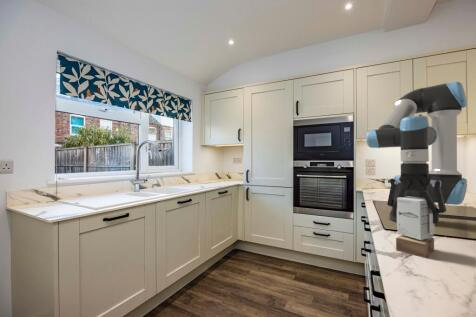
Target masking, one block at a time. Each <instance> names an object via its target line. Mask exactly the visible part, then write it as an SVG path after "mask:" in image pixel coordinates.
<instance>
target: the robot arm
mask: <svg viewBox="0 0 476 317" xmlns="http://www.w3.org/2000/svg"><path fill="white" fill-rule="evenodd" d="M466 107H467V96H466V93H465V89H464V86H463V84H462V83H461V82H460V81H454V82H446V83H440V84H435V85H432V86H427V87H420V88H416V89H414V90H412V91H410V92H408V93H405V94H404V95H403V96H401V97H400V98H399V99H398V100H397V101H396V102H395V103H394V105H393V107H392V110H391V112H390V113H389V114H388V116H387V117H386V118H385V120H384V121H383V122H382V123H381V125H380V126H379V127H378V129H372V130H369V131H368V132H366V136H365V137H366V138H365V140H366V141H365V142H366V145H367V146H368V147H369V148H372V149H376V148H377V149H382V148H400V162H402V163H400V174H398V175H395V176H393V178H390V180H389V181H390V189H389V192H388V193H389V194H388V199H387V206H388V207H391V210H389V211H390V212H389V215H388V216H389V218H388V219H389V221H392V222H395V223H396V228H397V229H398V224H397V198H399V197H401V198H403V197H407V196H410V197H418V198H425V200H426V201H427V204H428V205H429V207H430V209H431V211H432V212H431V213H429V226H430V234H432V235H433V236H434V234H435V232H436V230H435V228H436V226H435V225H438V224H439V221H440V220H439V218H440V215H439V214H444V213H446V212H447V208H446V205H455V206H459V205H461V204H463V202H464V200H465V198H466V197H465V196H466V193H467V188H468V184H467V183H468V179H467V178H465V177H463V174H462V173H461V172H460V171H459V170H458V116H459V115H460V114H462V112H463V110H462V108H463V109H464V108H466ZM421 113H427V115H426V116H425V115H415V114H421ZM428 117H429V118H430V119H431V126H430V123H429V118H428ZM429 146H431V169H430V166H429V165H430V164H429V163H427V162H429V160H430V158H429V157H430V156H429V155H430V152H429ZM436 204H437V205H436ZM437 206H438V207H437Z"/></svg>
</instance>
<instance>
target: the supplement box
mask: <svg viewBox="0 0 476 317" xmlns="http://www.w3.org/2000/svg"><path fill="white" fill-rule="evenodd" d="M431 212H432V211H431V209H430V207H429V205H428V204H427V201H426V200H425V198H418V197H410V196H407V197H403V198H401V197H399V198H397V222H396V225H397V224H398V228H397V234H398V235H400V236H401V235H405V236H408V237H412V238H415V239H418V240H424V239H428V238H434V234H433V235H432V234H430V226H429V213H431Z"/></svg>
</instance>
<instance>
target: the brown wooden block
mask: <svg viewBox="0 0 476 317" xmlns="http://www.w3.org/2000/svg"><path fill="white" fill-rule="evenodd" d="M395 244H396V245H395V247H396V248H395V251H398V252H402V253H405V254H410V255H413V256H417V257H421V258H425V259H427V258H428V257H429V256H430V255H431V254H432V253H433V252H434V251H435V238H434V237H432V238H428V239H424V240H418V239H415V238H412V237H408V236H405V235H401V234H400V235H399V236H398V237H396V239H395Z"/></svg>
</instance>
